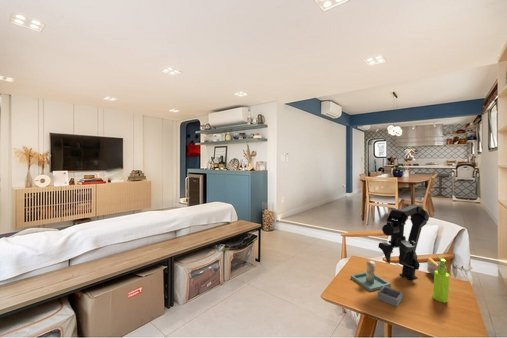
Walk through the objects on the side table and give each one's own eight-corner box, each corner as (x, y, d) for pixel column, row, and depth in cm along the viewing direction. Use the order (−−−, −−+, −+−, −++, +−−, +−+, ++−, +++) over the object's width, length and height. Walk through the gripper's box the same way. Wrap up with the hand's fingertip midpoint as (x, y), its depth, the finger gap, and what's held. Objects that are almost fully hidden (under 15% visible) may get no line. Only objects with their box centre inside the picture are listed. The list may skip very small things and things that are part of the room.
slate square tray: (383, 293, 122) (383, 285, 122) (402, 300, 116) (403, 292, 116) (377, 300, 116) (377, 292, 116) (397, 308, 110) (397, 300, 110)
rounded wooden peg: (372, 280, 133) (373, 261, 132) (375, 284, 129) (376, 264, 128) (364, 279, 133) (365, 260, 133) (367, 283, 129) (368, 263, 129)
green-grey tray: (369, 274, 140) (369, 271, 140) (390, 287, 127) (390, 283, 127) (350, 279, 135) (350, 275, 135) (370, 292, 122) (370, 288, 122)
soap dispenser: (443, 295, 120) (446, 257, 119) (450, 303, 114) (452, 263, 113) (430, 293, 122) (432, 255, 121) (435, 301, 116) (438, 261, 114)
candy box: (426, 270, 146) (427, 257, 145) (430, 271, 146) (431, 257, 145) (441, 285, 130) (442, 270, 130) (445, 285, 130) (446, 270, 129)
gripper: (396, 238, 118) (394, 270, 118) (425, 237, 123) (422, 267, 124) (378, 231, 128) (376, 260, 129) (405, 230, 134) (403, 258, 134)
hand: (395, 261), depth 129 cm, fingers open, 9 cm apart
